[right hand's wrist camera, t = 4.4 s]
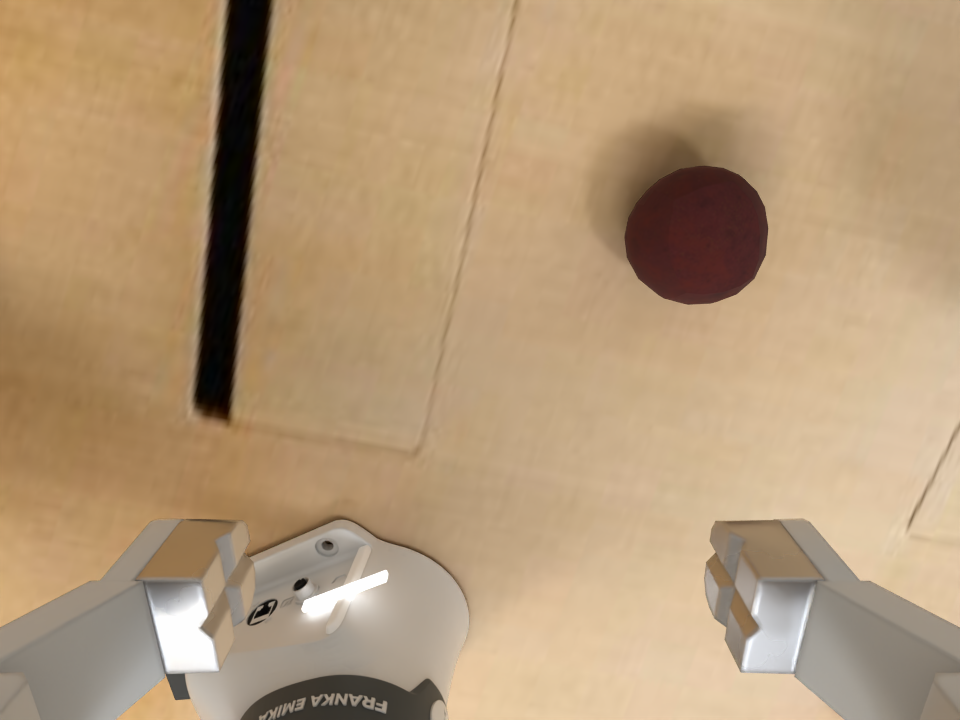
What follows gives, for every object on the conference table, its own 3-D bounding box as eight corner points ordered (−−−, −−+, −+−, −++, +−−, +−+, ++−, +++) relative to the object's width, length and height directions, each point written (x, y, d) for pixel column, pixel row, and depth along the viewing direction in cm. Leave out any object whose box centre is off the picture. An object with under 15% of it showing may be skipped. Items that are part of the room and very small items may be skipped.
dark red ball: (726, 146, 35) (782, 150, 29) (743, 272, 38) (799, 302, 31) (602, 183, 36) (629, 194, 30) (628, 304, 39) (658, 339, 32)
